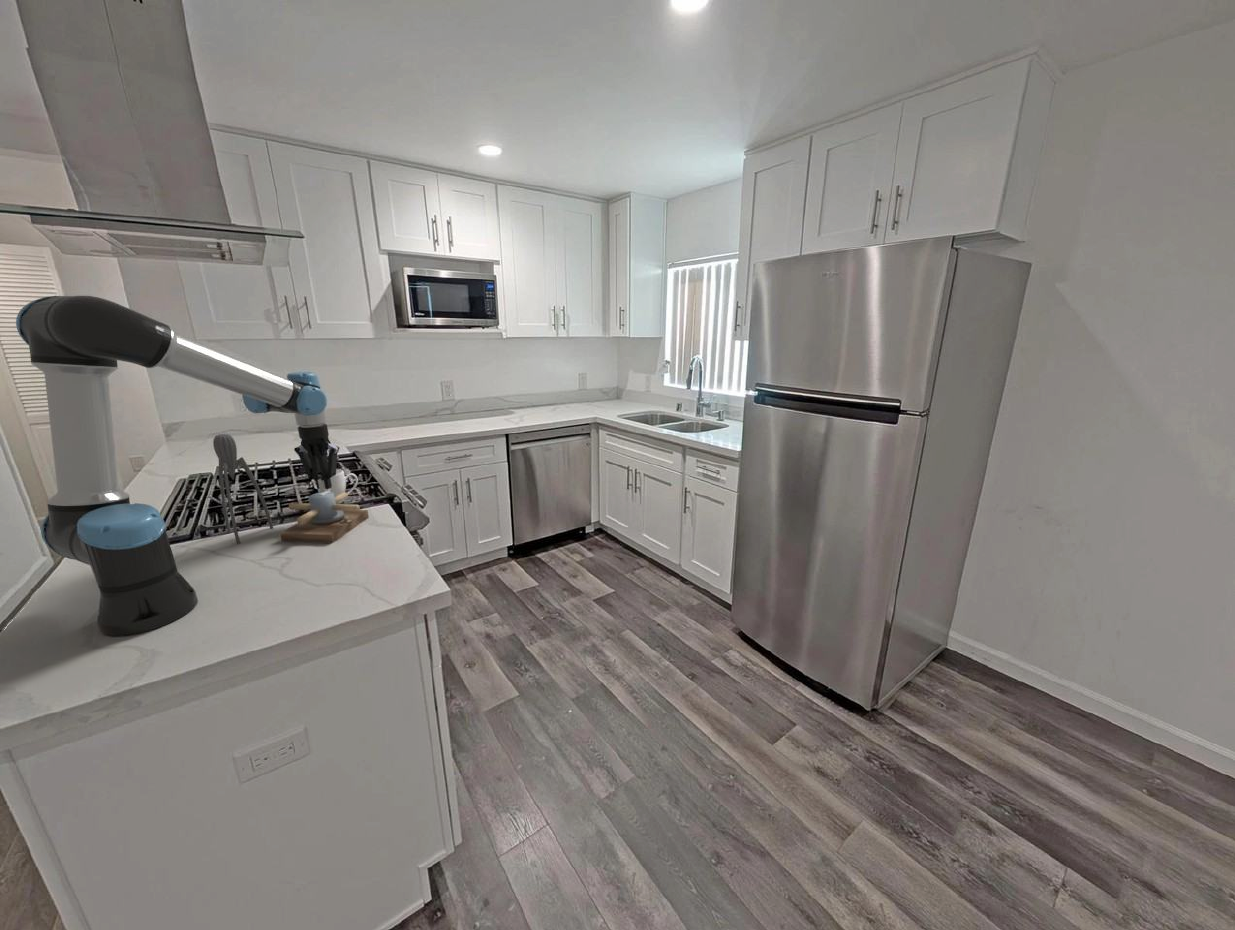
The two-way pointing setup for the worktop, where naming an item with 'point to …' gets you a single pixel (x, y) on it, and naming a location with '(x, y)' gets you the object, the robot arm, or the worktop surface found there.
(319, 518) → the capstan
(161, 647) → the worktop surface
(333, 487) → the mug
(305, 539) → the stand
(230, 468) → the citrus juicer
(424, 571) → the worktop surface
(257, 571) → the worktop surface
